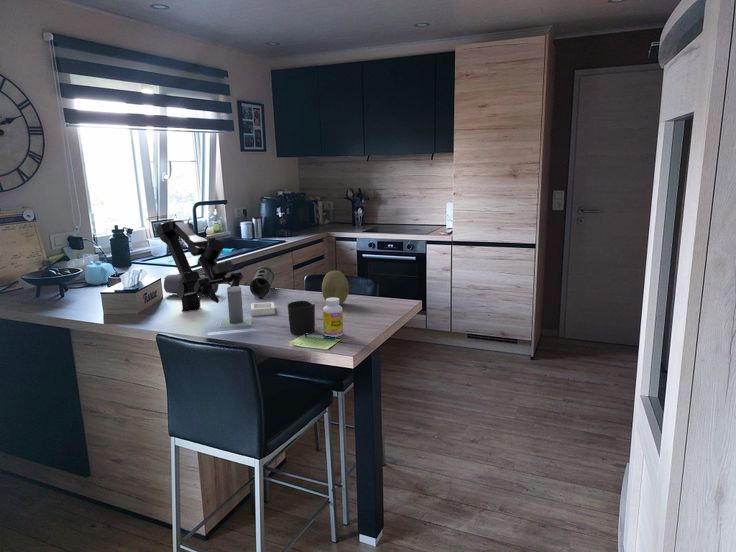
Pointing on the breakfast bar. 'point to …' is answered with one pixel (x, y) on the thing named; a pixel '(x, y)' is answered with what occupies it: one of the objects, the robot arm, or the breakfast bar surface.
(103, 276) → the teapot
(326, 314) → the supplement bottle
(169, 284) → the bluetooth speaker
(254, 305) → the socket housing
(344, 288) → the fruit
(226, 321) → the pad
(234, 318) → the grey rectangular block
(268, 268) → the muzzle brake
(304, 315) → the pen holder
